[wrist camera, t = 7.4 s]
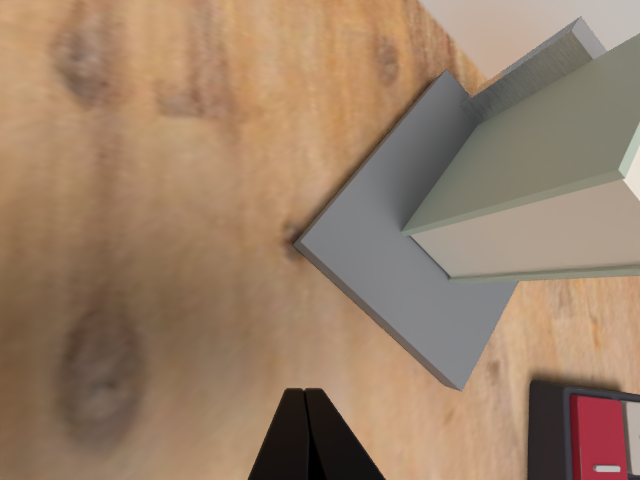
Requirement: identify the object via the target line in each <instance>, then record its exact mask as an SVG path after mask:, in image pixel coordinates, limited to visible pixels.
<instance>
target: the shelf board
mask: <svg viewBox="0 0 640 480" xmlns="http://www.w3.org/2000/svg"><path fill="white" fill-rule="evenodd" d="M468 95H469V94H468V93H467V92H466V91H465V90H464V88H463V87H462V86H461V85H460V84H459V83H458V81H457V80H456V79H455V78H454V77H453V76H452V74H451V73H450V72H449V71H448V70H447V69H446V70H445V71H444V72H443V73H442V74H440V75H439V76H438V77H437V78H436V79H435V80H433V82H432V83H431V84H430V85H429V86H428V87H427V89H426V90H425V91H424V92H423V93H422V94H421V96H420V97H419V98H418V99H417V100H416V101H415V103H414V104H413V105H412V106H411V107H410V108H409V110H408V111H407V112H406V113H405V114H404V115H403V117H402V118H401V119H400V120H399V121H398V122H397V124H396V125H395V126H394V127H393V128H392V129H391V131H390V132H389V133H388V134H387V135H386V136H385V138H384V139H383V140H382V141H381V142H380V143H379V145H378V146H377V147H376V148H375V149H374V150H373V152H372V153H371V154H370V155H369V156H368V157H367V159H366V160H365V161H364V162H363V163H362V165H361V166H360V167H359V168H358V169H357V170H356V172H355V173H354V174H353V175H352V176H351V177H350V179H349V180H348V181H347V182H346V183H345V184H344V186H343V187H342V188H341V189H340V190H339V191H338V193H337V194H336V195H335V196H334V197H333V198H332V200H331V201H330V202H329V203H328V204H327V205H326V207H325V208H324V209H323V210H322V211H321V212H320V214H319V215H318V216H317V217H316V218H315V219H314V221H313V222H312V223H311V224H310V225H309V226H308V228H307V229H306V230H305V231H304V232H303V233H302V235H301V236H300V237H299V238H298V239H297V240H296V242H295V243H294V244H293V246H294V247H295V248H296V249H297V250H298V251H299V252H301V253H302V254H303V255H304V256H305V257H306V258H307V259H308V260H309V261H310V262H311V263H312V264H314V265H315V266H316V267H317V268H318V269H319V270H320V271H321V272H322V273H323V274H324V275H325V276H327V277H328V278H329V279H330V280H331V281H332V282H333V283H334V284H335V285H336V286H337V287H338V288H340V289H341V290H342V291H343V292H344V293H345V294H346V295H347V296H348V297H349V298H350V299H351V300H353V301H354V302H355V303H356V304H357V305H358V306H359V307H360V308H361V309H362V310H363V311H364V312H366V313H367V314H368V315H369V316H370V317H371V318H372V319H373V320H374V321H375V322H376V323H377V324H379V325H380V326H381V327H382V328H383V329H384V330H385V331H386V332H387V333H388V334H389V335H390V336H392V337H393V338H394V339H395V340H396V341H397V342H398V343H399V344H400V345H401V346H402V347H403V348H405V349H406V350H407V351H408V352H409V353H410V354H411V355H412V356H413V357H414V358H415V359H417V360H418V361H419V362H420V363H421V364H422V365H423V366H424V367H425V368H426V369H427V370H428V371H430V372H431V373H432V374H433V375H434V376H435V377H436V378H437V379H438V380H439V381H440V382H441V383H443V384H444V385H445V386H447V387H450V388H453V389H456V390H458V391H461V392H462V390H463V388H464V386H465V384H466V382H467V381H468V379H469V377H470V375H471V373H472V371H473V369H474V367H475V365H476V363H477V361H478V359H479V357H480V355H481V354H482V352H483V350H484V348H485V346H486V344H487V342H488V340H489V338H490V336H491V334H492V332H493V330H494V328H495V326H496V325H497V323H498V321H499V319H500V317H501V315H502V313H503V311H504V309H505V307H506V305H507V303H508V301H509V299H510V298H511V296H512V294H513V292H514V290H515V288H516V286H517V284H518V282H519V281H509V282H486V283H464V284H452V283H451V282H450V281H449V280H448V279H449V278H450V275H449V274H448V273H447V272H446V271H445V270H444V269H443V268H442V267H441V266H440V265H439V264H438V263H437V262H436V261H435V260H434V259H433V258H432V257H431V256H430V255H429V254H428V253H427V252H426V251H425V250H424V249H423V248H422V247H421V246H420V245H419V244H418V243H417V242H416V241H415V240H414V239H413V238H412V237H411V236H410V235H409V236H404V235H403V234H402V233H401V231H402V230H403V228H404V227H405V226H406V224H407V223H408V221H409V220H410V219H411V217H412V216H413V214H414V213H415V212H416V210H417V209H418V208H419V206H420V205H421V203H422V202H423V201H424V199H425V198H426V196H427V195H428V194H429V192H430V191H431V189H432V188H433V187H434V185H435V184H436V182H437V181H438V180H439V178H440V177H441V176H442V174H443V173H444V171H445V170H446V169H447V167H448V166H449V164H450V163H451V162H452V160H453V159H454V157H455V156H456V155H457V153H458V152H459V151H460V149H461V148H462V146H463V145H464V144H465V142H466V141H467V139H468V138H469V137H470V135H471V134H472V132H473V131H474V130H475V128H476V127H477V126H476V125H475V124H474V122H473V121H472V120H471V119H470V118H469V117H468V115H467V114H466V113H465V112H464V111H463V110H462V109H461V107H460V105H461V104H462V103H463V101H464V100H465V99H466V97H467V96H468Z"/></svg>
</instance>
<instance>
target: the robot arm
mask: <svg viewBox="0 0 640 480" xmlns="http://www.w3.org/2000/svg"><path fill="white" fill-rule="evenodd" d="M248 480H386V479H385V478H384V476H383V475H382V474H381V472H380V471H379V469H378V468H377V466H376V465H375V463H374V462H373V461H372V459H371V458H370V456H369V455H368V453H367V452H366V451H365V449H364V448H363V446H362V445H361V443H360V442H359V441H358V439H357V438H356V436H355V435H354V433H353V432H352V431H351V429H350V428H349V426H348V425H347V423H346V422H345V421H344V419H343V418H342V416H341V415H340V413H339V412H338V411H337V409H336V408H335V406H334V405H333V403H332V402H331V401H330V399H329V398H328V396H327V395H326V393H325V392H324V391H323V390H322V389H321V388H306V389H305V390H304V391H303V389H302V388H287V389H285V391H284V393H283V395H282V398H281V400H280V403H279V405H278V407H277V410H276V412H275V415H274V417H273V420H272V422H271V424H270V427H269V429H268V432H267V434H266V436H265V439H264V441H263V444H262V446H261V448H260V451H259V453H258V456H257V458H256V461H255V463H254V465H253V468H252V470H251V473H250V475H249V477H248Z"/></svg>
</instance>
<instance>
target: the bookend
mask: <svg viewBox="0 0 640 480" xmlns="http://www.w3.org/2000/svg"><path fill="white" fill-rule="evenodd" d="M606 52H607V51H606V49H605V48H604V47H603V45H602V44H601V43H600V41H599V40H598V38H597V37H596V36H595V35H594V33H593V32H592V30H591V29H590V28H589V26H588V25H587V24H586V22H585V21H584V20H583V18H582V17H579V18H578V19H576V20H575V21H573V22H572V23H570V24H569V25H568V26H566V27H565V28H563V29H562V30H560V31H559V32H558V33H556V34H555V35H553V36H552V37H550V38H549V39H548V40H546V41H545V42H543V43H542V44H541V45H539V46H537V47H536V48H535V49H533V50H532V51H530V52H529V53H527V54H526V55H525V56H523V57H522V58H520V59H519V60H517V61H516V62H515V63H513V64H512V65H511V66H509V67H507V68H506V69H505V70H503V71H502V72H500V73H499V74H497V75H496V76H494V77H493V78H492V79H490V80H489V81H487V82H486V83H484V84H483V85H482V86H480V87H479V88H477V89H476V90H474V91H473V92H472V93H470V94H469V95H468V96H467V97H466V99H465V100H464V101H463V103H462V104H461V105H460V107H461V109H462V110H463V111H464V112H465V113H466V114H467V115H468V117H469V118H470V119H471V120H472V121H473V122H474V124H475V125H476V126H478V125H480V124H482V123H484V122H485V121H487V120H489V119H491V118H492V117H494V116H496V115H498V114H499V113H501V112H503V111H505V110H506V109H508V108H510V107H512V106H513V105H515V104H517V103H519V102H520V101H522V100H524V99H526V98H527V97H529V96H531V95H533V94H534V93H536V92H538V91H540V90H541V89H543V88H545V87H547V86H548V85H550V84H552V83H554V82H555V81H557V80H559V79H561V78H562V77H564V76H566V75H568V74H569V73H571V72H573V71H575V70H576V69H578V68H580V67H582V66H583V65H585V64H587V63H589V62H590V61H592V60H594V59H596V58H597V57H599V56H601V55H603V54H604V53H606Z"/></svg>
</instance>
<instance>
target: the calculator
mask: <svg viewBox="0 0 640 480" xmlns="http://www.w3.org/2000/svg"><path fill="white" fill-rule="evenodd" d="M528 480H640V395H638V394H632V393H625V392H619V391H612V390H605V389H597V388H590V387H582V386H574V385H567V384H559V383H551V382H544V381H536V380H534V381H532V382H531V383H530V395H529V431H528Z"/></svg>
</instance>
